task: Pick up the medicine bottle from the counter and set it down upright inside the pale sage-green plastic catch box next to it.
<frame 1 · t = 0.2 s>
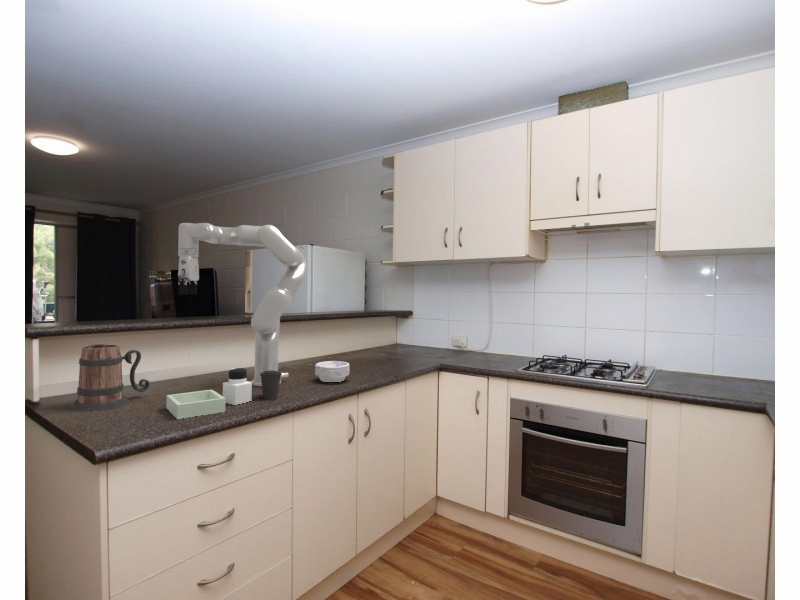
hand: (187, 294, 178), 37 cm above the worktop, tool pointing down, fingers open, 9 cm apart
white ceramic bowl: (332, 381, 192), on the worktop
coffee cup: (270, 398, 160), on the worktop
catch box: (195, 410, 142), on the worktop
medicine bottle: (237, 402, 153), on the worktop
tankard: (111, 403, 148), on the worktop
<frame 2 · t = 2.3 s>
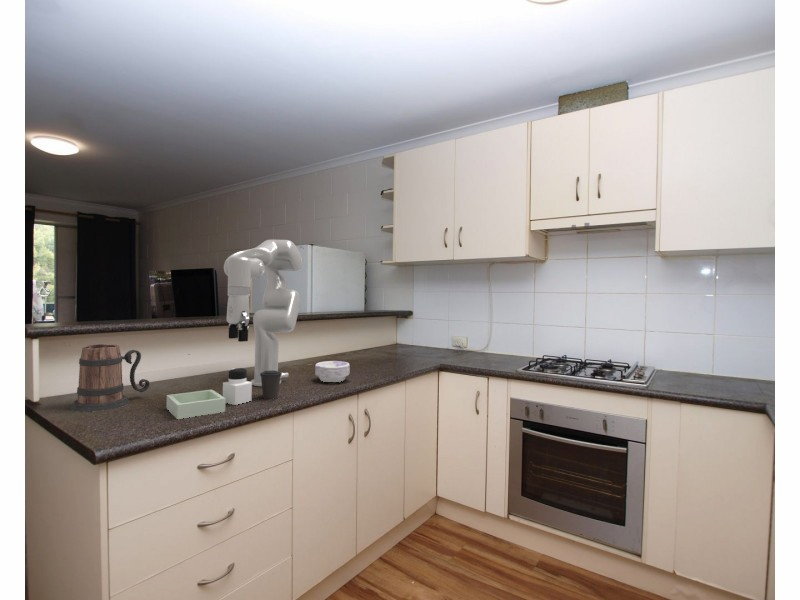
hand: (238, 339, 153), 22 cm above the worktop, tool pointing down, fingers open, 9 cm apart
nothing on the worktop moved.
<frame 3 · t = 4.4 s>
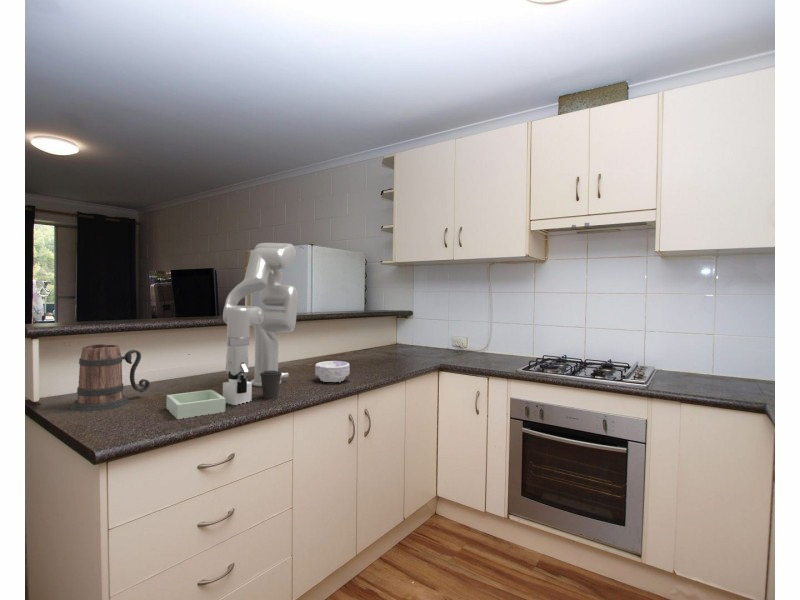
hand: (237, 390, 153), 4 cm above the worktop, tool pointing down, fingers closed on medicine bottle, 8 cm apart
medicine bottle: (237, 402, 153), on the worktop, touching gripper
everything else where it was.
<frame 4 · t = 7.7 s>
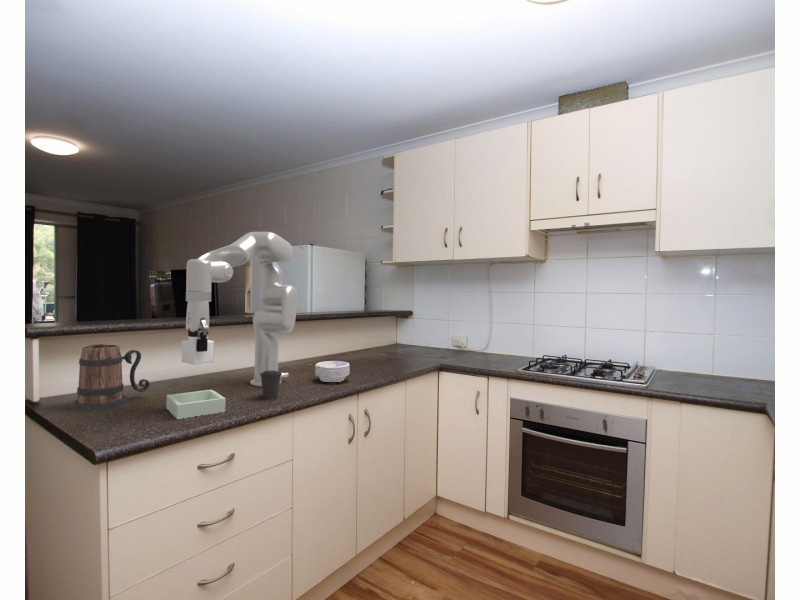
hand: (197, 349, 142), 20 cm above the worktop, tool pointing down, fingers closed on medicine bottle, 8 cm apart
medicine bottle: (197, 362, 142), point 16 cm above the worktop, touching gripper
everything else where it was.
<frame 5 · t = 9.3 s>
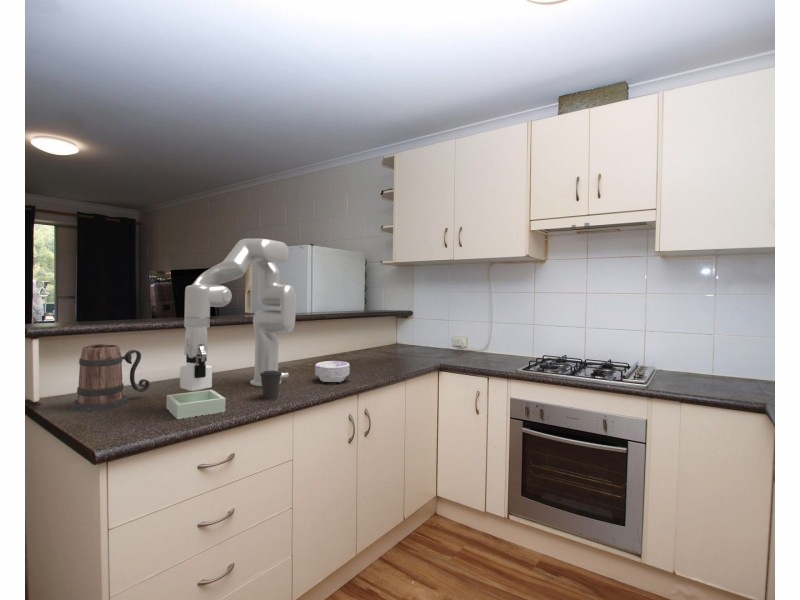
hand: (196, 374, 142), 12 cm above the worktop, tool pointing down, fingers closed on medicine bottle, 8 cm apart
medicine bottle: (196, 388, 142), point 7 cm above the worktop, touching gripper
everything else where it was.
when the fingers open (6 cm above the worktop, at t = 11.0 s): medicine bottle drops 1 cm, resting on catch box.
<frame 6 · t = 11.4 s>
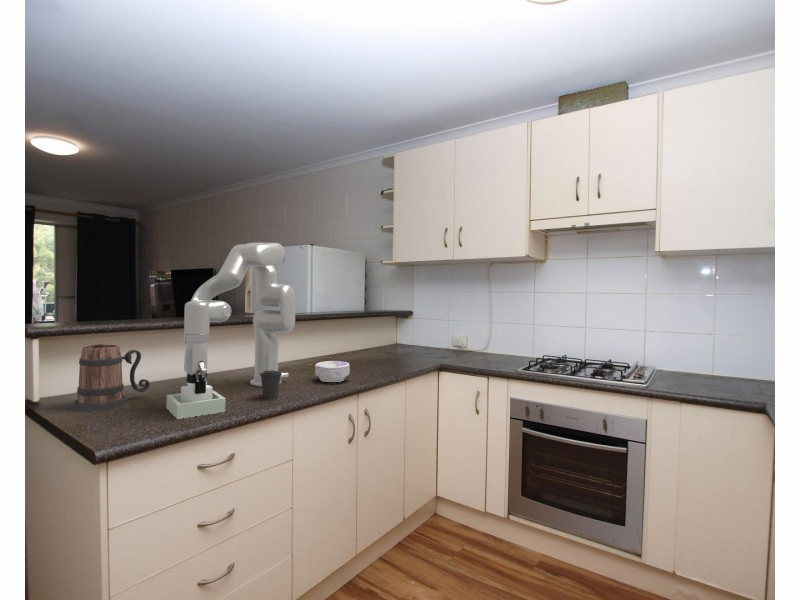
hand: (196, 390, 142), 7 cm above the worktop, tool pointing down, fingers open, 9 cm apart
medicine bottle: (196, 408, 142), point 1 cm above the worktop, touching catch box
everything else where it was.
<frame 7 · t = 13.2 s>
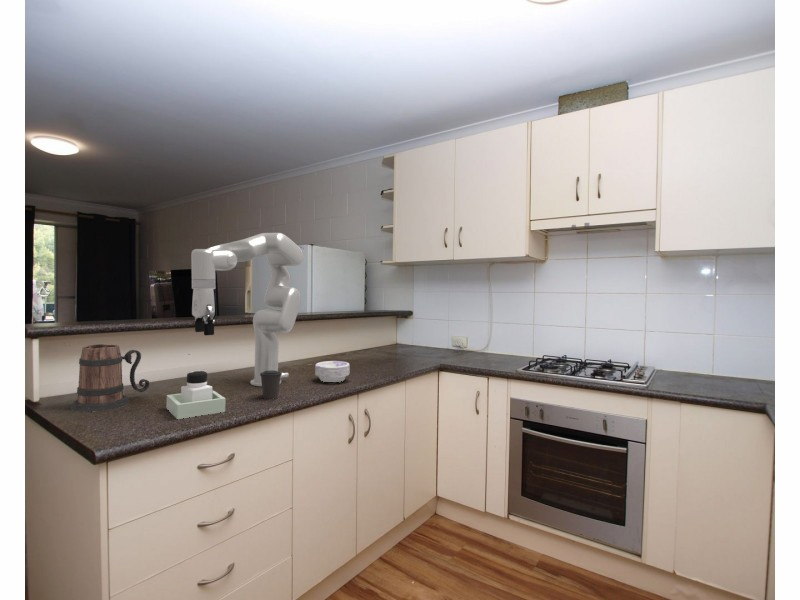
hand: (204, 333, 151), 24 cm above the worktop, tool pointing down, fingers open, 9 cm apart
nothing on the worktop moved.
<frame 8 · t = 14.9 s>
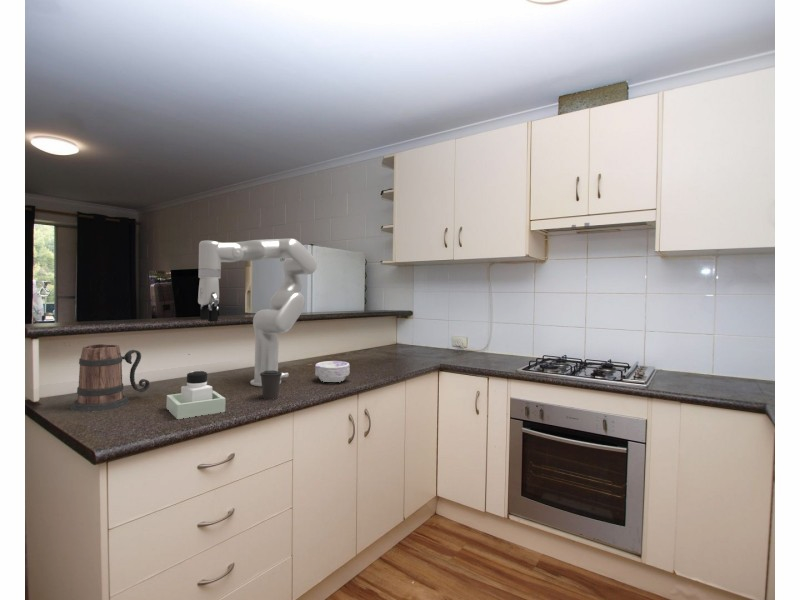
hand: (208, 320, 159), 28 cm above the worktop, tool pointing down, fingers open, 9 cm apart
nothing on the worktop moved.
at the end: medicine bottle inside the target area on the catch box (0.3 cm from its centre), point 0.6 cm above the catch box's base; medicine bottle tilted 0°; the gripper is holding nothing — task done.
